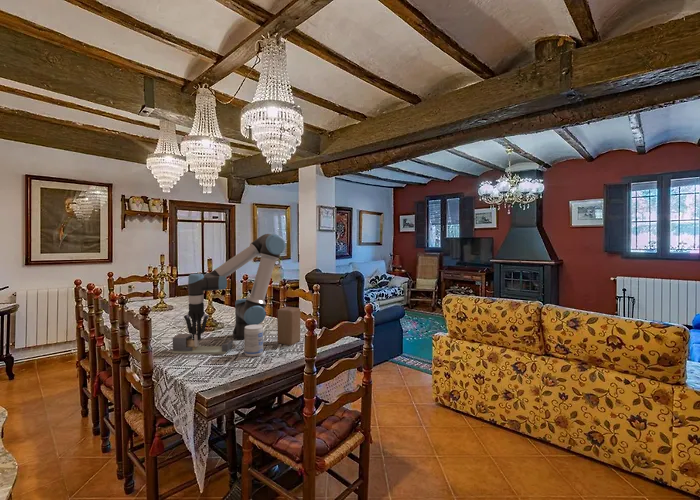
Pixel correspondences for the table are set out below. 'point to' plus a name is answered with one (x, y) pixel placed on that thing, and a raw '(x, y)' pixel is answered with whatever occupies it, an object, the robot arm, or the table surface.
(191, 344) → the brown block
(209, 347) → the board
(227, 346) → the cap
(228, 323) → the table surface
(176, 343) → the cap
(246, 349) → the supplement tub
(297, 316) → the wooden block
